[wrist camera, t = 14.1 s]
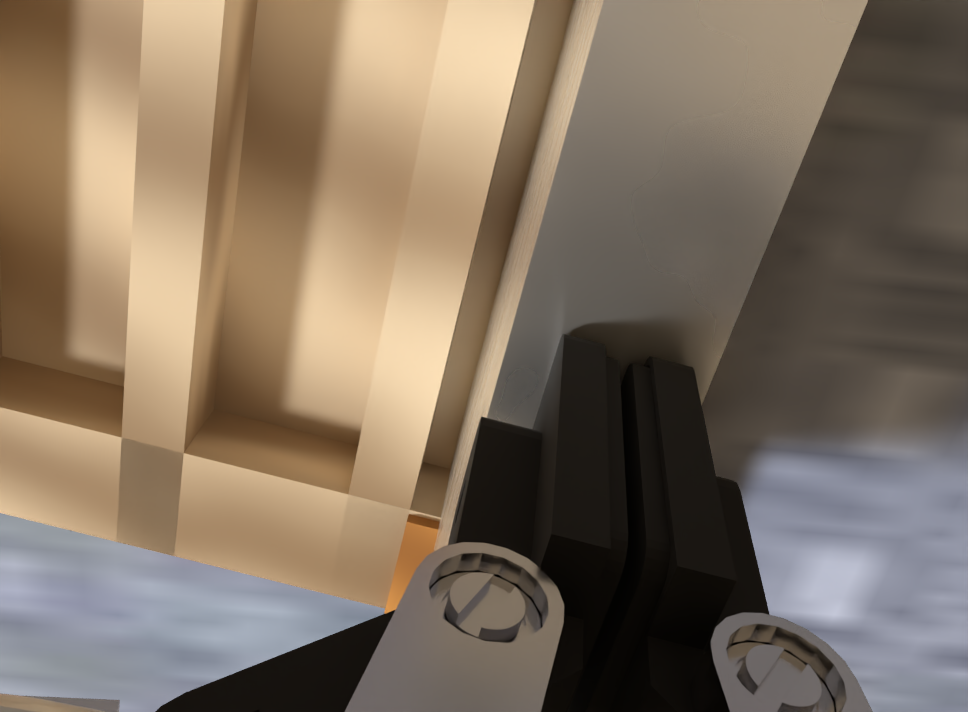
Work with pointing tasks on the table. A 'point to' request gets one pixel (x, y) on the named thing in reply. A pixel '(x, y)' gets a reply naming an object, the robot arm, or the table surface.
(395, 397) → the rack
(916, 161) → the table surface
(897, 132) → the table surface
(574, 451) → the robot arm
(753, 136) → the blanking panel
